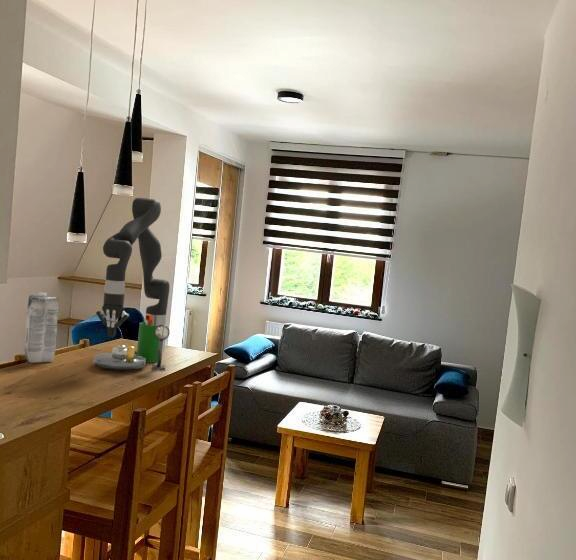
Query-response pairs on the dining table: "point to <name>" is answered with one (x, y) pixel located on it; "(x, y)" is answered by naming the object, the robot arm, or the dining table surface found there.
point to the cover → (119, 352)
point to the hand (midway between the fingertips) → (111, 336)
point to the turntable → (120, 360)
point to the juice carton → (41, 328)
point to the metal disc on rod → (160, 344)
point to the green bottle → (148, 340)
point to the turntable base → (118, 369)
